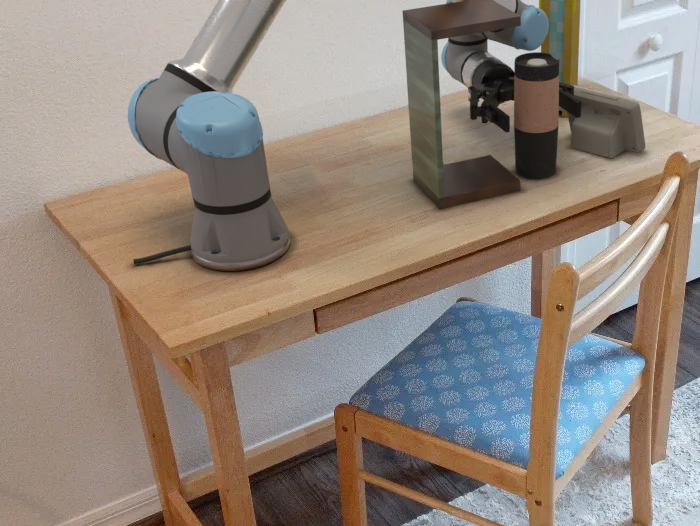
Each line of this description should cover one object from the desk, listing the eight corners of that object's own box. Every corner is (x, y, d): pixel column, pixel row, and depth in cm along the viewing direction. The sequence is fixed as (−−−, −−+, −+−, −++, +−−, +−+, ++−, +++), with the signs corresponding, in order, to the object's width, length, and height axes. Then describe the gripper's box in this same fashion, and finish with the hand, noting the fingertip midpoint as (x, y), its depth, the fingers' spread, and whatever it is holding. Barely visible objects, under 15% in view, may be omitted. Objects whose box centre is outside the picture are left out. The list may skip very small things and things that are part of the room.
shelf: (439, 209, 167) (431, 30, 150) (413, 181, 176) (402, 10, 159) (520, 191, 172) (521, 16, 155) (490, 165, 181) (488, -3, 164)
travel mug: (509, 177, 176) (508, 65, 165) (520, 160, 182) (520, 50, 171) (551, 182, 174) (554, 68, 163) (561, 164, 180) (564, 53, 169)
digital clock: (650, 152, 183) (655, 96, 177) (615, 166, 179) (619, 109, 173) (587, 127, 194) (589, 73, 188) (552, 140, 189) (554, 85, 183)
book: (571, 116, 198) (575, -14, 184) (537, 115, 200) (539, -15, 185) (580, 86, 212) (585, -38, 197) (549, 85, 213) (551, -38, 199)
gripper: (549, 87, 192) (606, 124, 176) (428, 110, 184) (477, 152, 168) (550, 48, 188) (608, 83, 172) (426, 70, 180) (476, 108, 164)
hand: (543, 117), depth 170 cm, fingers open, 13 cm apart
